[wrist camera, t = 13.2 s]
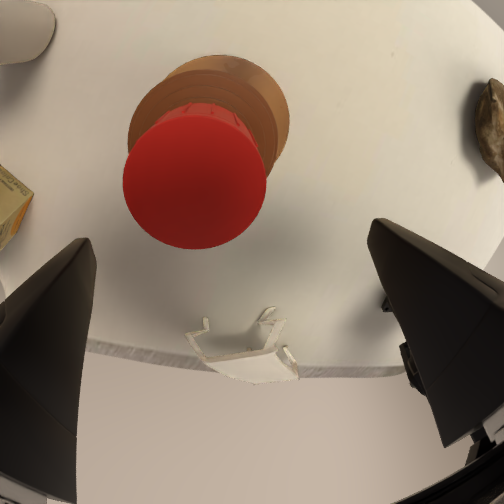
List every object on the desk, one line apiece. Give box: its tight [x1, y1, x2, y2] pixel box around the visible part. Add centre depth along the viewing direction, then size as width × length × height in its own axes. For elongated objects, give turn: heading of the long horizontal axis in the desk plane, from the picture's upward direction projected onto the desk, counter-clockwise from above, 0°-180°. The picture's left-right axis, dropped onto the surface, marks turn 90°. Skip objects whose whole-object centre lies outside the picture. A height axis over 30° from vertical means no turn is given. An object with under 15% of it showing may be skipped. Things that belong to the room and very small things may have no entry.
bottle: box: [128, 69, 278, 178], centre depth 14 cm, size 6×6×14 cm
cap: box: [123, 102, 266, 249], centre depth 10 cm, size 4×4×3 cm
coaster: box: [163, 55, 289, 163], centre depth 20 cm, size 10×10×1 cm
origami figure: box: [185, 307, 300, 385], centre depth 30 cm, size 12×8×5 cm
